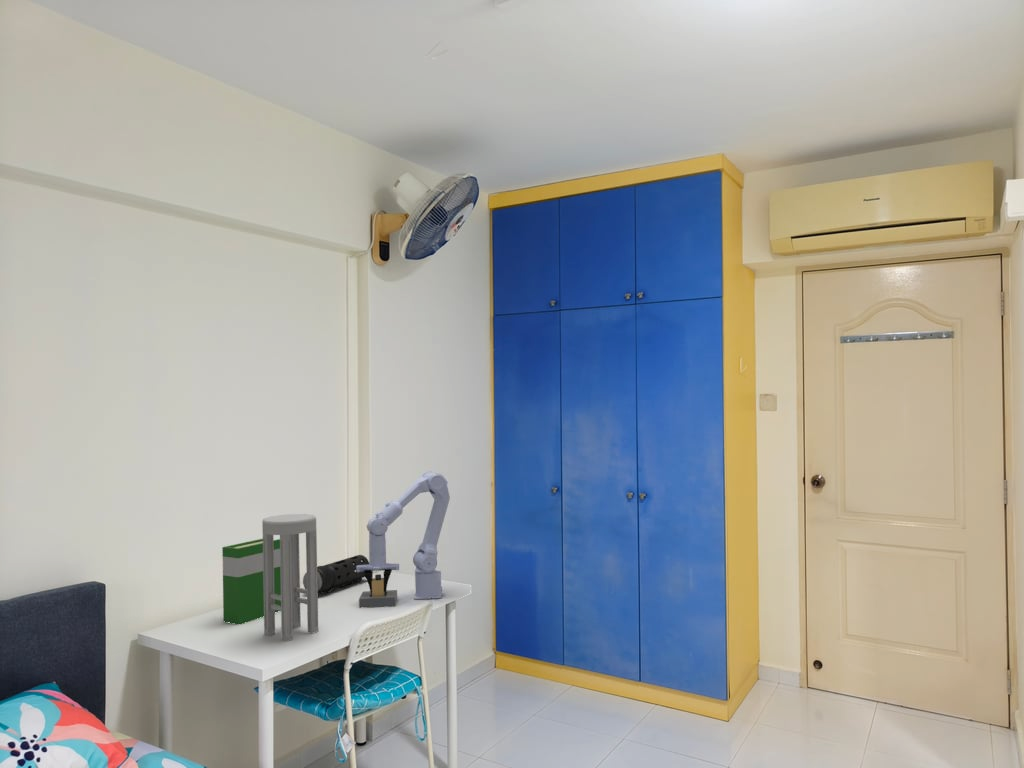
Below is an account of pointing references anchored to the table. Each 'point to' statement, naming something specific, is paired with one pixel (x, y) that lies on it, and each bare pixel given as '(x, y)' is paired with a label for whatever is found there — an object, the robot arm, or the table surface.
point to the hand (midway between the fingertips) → (378, 591)
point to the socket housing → (378, 599)
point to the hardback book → (247, 581)
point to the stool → (290, 573)
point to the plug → (378, 586)
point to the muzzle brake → (338, 573)
